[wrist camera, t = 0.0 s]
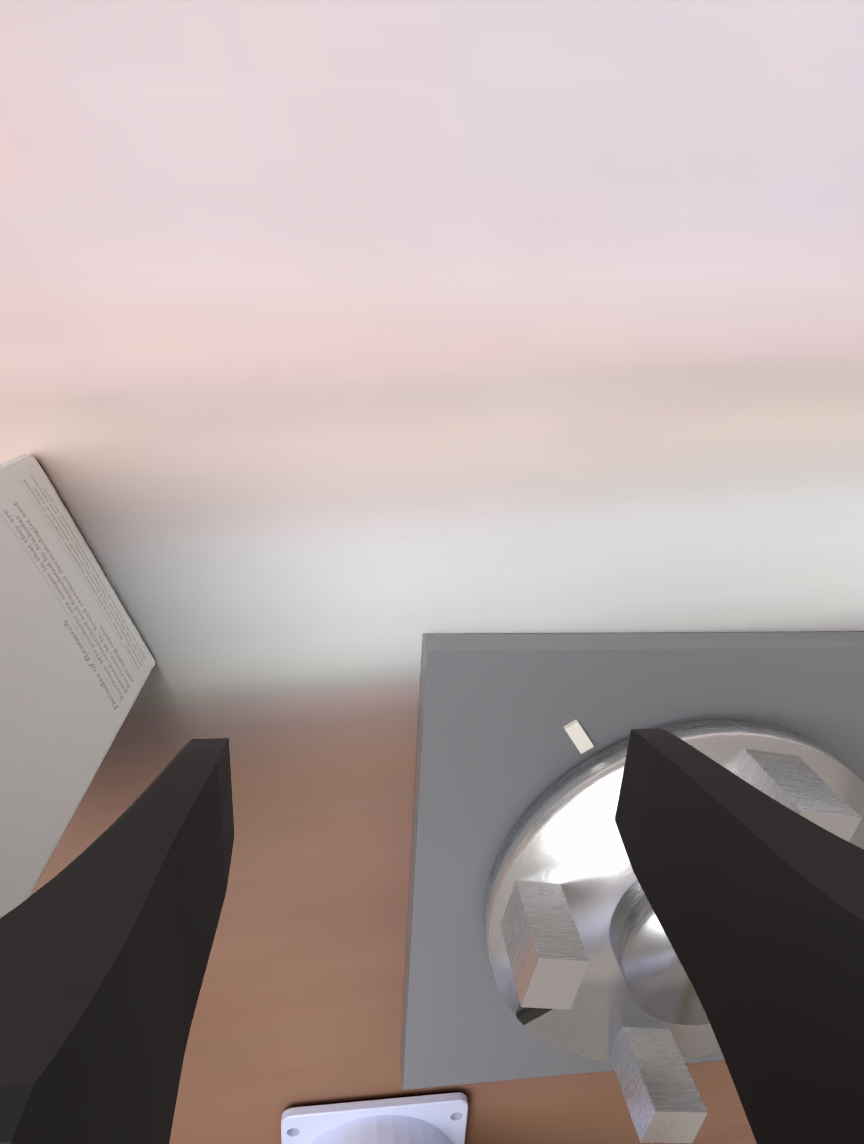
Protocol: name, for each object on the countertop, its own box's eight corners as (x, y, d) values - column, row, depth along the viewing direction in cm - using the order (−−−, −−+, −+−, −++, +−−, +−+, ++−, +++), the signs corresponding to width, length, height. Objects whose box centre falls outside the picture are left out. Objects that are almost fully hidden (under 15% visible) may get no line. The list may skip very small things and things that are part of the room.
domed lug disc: (939, 748, 25) (1049, 829, 21) (779, 1042, 30) (844, 1152, 26) (548, 691, 22) (592, 772, 18) (441, 1026, 27) (457, 1148, 23)
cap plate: (832, 1023, 32) (852, 1052, 31) (400, 1060, 30) (403, 1093, 28) (971, 630, 25) (1005, 647, 24) (422, 633, 23) (427, 653, 21)
